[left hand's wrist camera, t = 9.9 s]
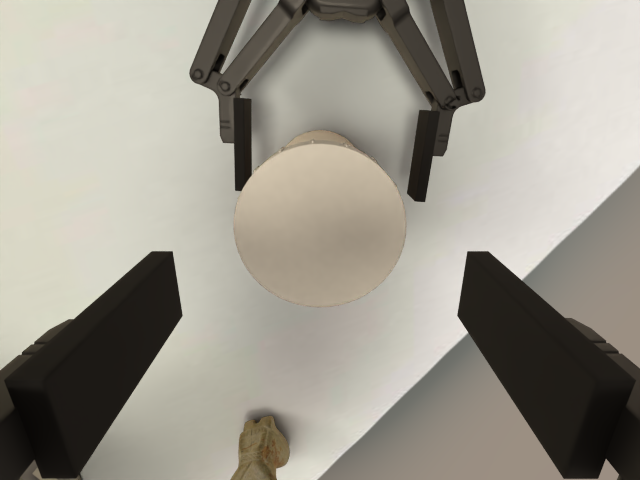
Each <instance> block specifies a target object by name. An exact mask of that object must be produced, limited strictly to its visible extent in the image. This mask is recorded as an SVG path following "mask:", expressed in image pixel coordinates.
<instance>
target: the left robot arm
mask: <svg viewBox="0 0 640 480" xmlns="http://www.w3.org/2000/svg"><path fill="white" fill-rule="evenodd" d="M182 316H183V315H182V309H181V303H180V296H179V290H178V283H177V277H176V271H175V264H174V258H173V251H152V252H151V253H149V254H148V255H147V256H146V257H145V258H144V259H143V260H141V261H140V262H139V263H138V264H137V265H136V266H134V267H133V268H132V269H131V270H130V271H129V272H128V273H126V274H125V275H124V276H123V277H122V278H121V279H120V280H118V281H117V282H116V283H115V284H114V285H113V286H111V287H110V288H109V289H108V290H107V291H106V292H105V293H103V294H102V295H101V296H100V297H99V298H98V299H97V300H95V301H94V302H93V303H92V304H91V305H90V306H88V307H87V308H86V309H85V310H84V311H83V312H82V313H80V314H79V315H78V316H77V317H76V318H75V319H69V320H67V321H65V322H63V323H61V324H59V325H57V326H55V327H54V328H52V329H50V330H48V331H47V332H46V333H45V334H44V335H42V336H41V337H40V338H39V339H38V340H36V341H35V342H34V345H30V346H29V347H28V348H27V349H25V350H24V351H23V352H22V355H18V356H17V357H16V358H15V359H13V360H12V361H11V362H10V363H9V364H7V365H6V366H5V367H4V368H3V369H1V370H0V480H81V478H80V476H79V474H80V472H81V471H82V469H83V467H84V466H85V464H86V463H87V461H88V460H89V458H90V457H91V455H92V454H93V452H94V451H95V449H96V448H97V446H98V444H99V443H100V441H101V440H102V438H103V437H104V435H105V434H106V432H107V431H108V429H109V428H110V426H111V425H112V423H113V421H114V420H115V418H116V417H117V415H118V414H119V412H120V411H121V409H122V408H123V406H124V405H125V403H126V402H127V400H128V399H129V397H130V395H131V394H132V392H133V391H134V389H135V388H136V386H137V385H138V383H139V382H140V380H141V379H142V377H143V376H144V374H145V372H146V371H147V369H148V368H149V366H150V365H151V363H152V362H153V360H154V359H155V357H156V356H157V354H158V353H159V351H160V349H161V348H162V346H163V345H164V343H165V342H166V340H167V339H168V337H169V336H170V334H171V333H172V331H173V330H174V328H175V327H176V325H177V323H178V322H179V320H180V319H181V317H182ZM457 316H458V317H459V319H460V320H461V322H462V323H463V325H464V327H465V328H466V330H467V331H468V333H469V334H470V336H471V337H472V339H473V340H474V342H475V343H476V345H477V346H478V348H479V349H480V351H481V353H482V354H483V356H484V357H485V359H486V360H487V362H488V363H489V365H490V366H491V368H492V369H493V371H494V372H495V374H496V376H497V377H498V379H499V380H500V382H501V383H502V385H503V386H504V388H505V389H506V391H507V392H508V394H509V395H510V397H511V399H512V400H513V402H514V403H515V405H516V406H517V408H518V409H519V411H520V412H521V414H522V415H523V417H524V418H525V420H526V421H527V423H528V425H529V426H530V428H531V429H532V431H533V432H534V434H535V435H536V437H537V438H538V440H539V441H540V443H541V444H542V446H543V448H544V449H545V451H546V452H547V454H548V455H549V457H550V458H551V460H552V461H553V463H554V464H555V466H556V467H557V469H558V471H559V472H560V474H561V475H562V477H563V478H564V479H598V477H599V475H600V472H601V470H602V467H603V464H604V462H605V459H607V460H608V461H609V462H610V464H611V465H612V466H613V467H614V469H615V470H616V471H617V472H618V474H619V476H618V479H617V480H640V368H638V367H637V366H636V365H635V364H633V363H632V362H631V361H630V360H629V359H628V358H626V357H625V356H624V355H623V354H619V352H618V350H617V349H615V348H614V347H613V346H612V345H611V344H609V343H606V340H604V339H603V338H602V337H601V336H600V335H598V334H597V333H596V332H595V331H594V330H592V329H591V328H589V327H587V326H585V325H583V324H582V323H580V322H578V321H576V320H574V319H572V318H564V317H563V316H562V315H561V314H560V313H558V312H557V311H556V310H555V309H554V308H553V307H551V306H550V305H549V304H548V303H547V302H546V301H544V300H543V299H542V298H541V297H540V296H539V295H538V294H537V293H535V292H534V291H533V290H532V289H531V288H530V287H529V286H527V285H526V284H525V283H524V282H523V281H522V280H520V279H519V278H518V277H517V276H516V275H515V274H514V273H512V272H511V271H510V270H509V269H508V268H507V267H506V266H504V265H503V264H502V263H501V262H500V261H499V260H497V259H496V258H495V257H494V256H493V255H492V254H491V253H489V252H488V251H467V258H466V264H465V271H464V277H463V283H462V290H461V296H460V303H459V309H458V315H457Z"/></svg>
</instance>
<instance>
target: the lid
mask: <svg viewBox="0 0 640 480" xmlns="http://www.w3.org/2000/svg"><path fill="white" fill-rule="evenodd" d="M376 162H377V161H376V160H375V159H374V158H373V157H371V158H370V157H369V156H368V155H366V154H365V153H364V152H362V151H360V150H358V149H356V148H355V147H352V146H349V145H347V144H346V142H344V143H340V142H336V141H329V140H314V139H312V140H310V141H305V142H300V143H296V144H293V145H290V146H288V147H286V148H284V147H282V148H281V149H280V150H279V151H278V152H277V153H275V154H274V155H272V156H271V157H270V158H268V159H267V160H266V161H265V162H264V163H263V164H262V165H261V166H258V167H257V168H256V169H255V170H254V171H253V172H254V173H253V175H252V176H251V177H250V178H249V180H248V181H247V183H246V184H245V186H244V187H243V189H242V192H241V194H240V196H239V197H238V202H237V205H236V208H235V215H234V235H235V242H236V245H237V249H238V252H239V254H240V257H241V259H242V261H243V263H244V265H245V266H246V268H247V270H248V271H249V272H250V274H251V275H252V276H253V277H254V279H255V280H256V281H257V282H258V283H259V284H260V285H262V286H263V287H264V288H265V289H267V290H268V291H269V292H271V293H273V294H274V295H276V296H277V297H279V298H282V299H284V300H286V301H289V302H292V303H295V304H298V305H303V306H310V307H330V306H337V305H341V304H345V303H349V302H351V301H354V300H356V299H359V298H360V297H362V296H364V295H366V294H368V293H369V292H371V291H372V290H373V289H375V288H376V287H377V286H378V285H379V284H380V283H382V282H383V281H384V280H385V278H386V277H387V276H388V275H389V274H390V272H391V271H392V269H393V268H394V266H395V265H396V263H397V261H398V259H399V257H400V255H401V252H402V249H403V246H404V241H405V236H406V214H405V209H404V205H403V201H402V199H401V196H400V194H399V191H398V190H397V188H396V187H397V185H396V184H395V183H394V182H393V181H392V180H391V178H390V177H389V176H388V174H387V173H386V172H385V171H384V170H383V169H382V168H381V167H380V166H379V165H378V164H377V163H376Z"/></svg>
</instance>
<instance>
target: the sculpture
mask: <svg viewBox="0 0 640 480" xmlns="http://www.w3.org/2000/svg"><path fill="white" fill-rule="evenodd" d="M238 454H239V466H238V469H237V470H236V472H235V473H234V475H233V476H232V478H231V480H277V479H276V468H280V467H282V466H284V465H285V464H286V463H287V462H288V459H289V454H290V452H289V446H288V443H287V441H286V439H285V437H284V436H283V435H282V433H280V432H279V431H278V429H277V428H276V426H275V423H274V418H273V417H272V416H267V417H263V418H261V420H260V421H259V423H257V421H256V420H250V421H247V422H246V423H245V425H244V432H242V433H241V435H240V438H239V452H238Z"/></svg>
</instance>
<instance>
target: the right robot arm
mask: <svg viewBox="0 0 640 480" xmlns="http://www.w3.org/2000/svg"><path fill="white" fill-rule="evenodd" d="M250 3H251V0H218V2H217V5H216V7H215V10H214V12H213V15H212V17H211V20H210V22H209V24H208V27H207V29H206V32H205V34H204V37H203V39H202V42H201V44H200V46H199V49H198V51H197V54H196V56H195V59H194V61H193V64H192V66H191V69H190V73H189V74H190V78H191V79H192V81H193V82H195V83H197V84H200V85H202V86H204V87H207V88H209V89H211V90H213V91H214V92H215V93H216V94H217V96H218V99H219V119H220V136H221V139H222V141H223V143H234V155H235V191H242V189H243V187H244V186H245V184H246V183H247V181H248V180H249V178H250V177H251V176H252V150H251V99H245V98H240V95H241V92H242V90H243V89H244V88H245V87H246V86H247V84H248V83H249V82H250V81H251V79H252V78H253V77H254V76H255V74H256V73H257V72H258V71H259V70H260V68H261V67H262V66H263V65H264V63H265V62H266V61H267V60H268V59H269V57H270V56H271V55H272V54H273V52H274V51H275V50H276V49H277V47H278V46H279V45H280V44H281V43H282V41H283V40H284V39H285V38H286V36H287V35H288V34H289V33H290V32H291V30H292V29H293V28H294V27H295V26H296V25H297V24H298V23H299V22H300V21H301V20H302V19H303V18H304V16H305V15H306V14H307V13H308V11H309V10H310V12H311V13H313V14H314V15H315V16H317V17H319V18H320V20H328V21H331V20H336V19H340V18H344V19H346V20H349V21H351V22H357V23H364V22H365V21H367V20H369V19H371V18H373V17H374V16H376V18H377V20H378V21H379V23H380V25H381V26H382V28H383V29H384V30H385V31H386V32H387V33H388V35H389V36H390V38H391V40H392V41H393V43H394V45H395V46H396V48H397V50H398V51H399V53H400V55H401V56H402V58H403V60H404V61H405V63H406V65H407V66H408V68H409V70H410V71H411V73H412V75H413V76H414V78H415V80H416V81H417V83H418V85H419V86H420V88H421V90H422V91H423V93H424V95H425V96H426V98H427V100H428V101H429V103H430V105H431V107H432V108H431V111H429V110H419V117H418V123H417V130H416V137H415V143H414V150H413V157H412V163H411V170H410V177H409V184H408V190H407V194H408V195H409V196H410V197H411V198H412V199H413V200H414V201H417V202H425V199H426V193H427V187H428V181H429V175H430V169H431V163H432V157H433V156H443V155H444V153H445V152H446V150H447V145H448V139H449V133H450V128H451V122H452V117H453V114H454V112H455V110H456V109H458V108H459V107H461V106H463V105H467V104H470V103H473V102H479V101H480V100H482V99H483V97H484V96H485V86H484V82H483V78H482V74H481V70H480V66H479V61H478V57H477V53H476V49H475V45H474V41H473V37H472V33H471V28H470V24H469V20H468V16H467V12H466V8H465V4H464V0H430V3H431V7H432V11H433V15H434V19H435V22H436V26H437V30H438V33H439V37H440V41H441V44H442V48H443V52H444V55H445V59H446V63H447V67H448V70H449V74H450V78H451V81H452V85H453V88H452V86H451V85H450V83H449V81H448V79H447V78H446V76H445V74H444V72H443V71H442V69H441V67H440V65H439V64H438V62H437V60H436V58H435V57H434V55H433V53H432V51H431V49H430V48H429V46H428V44H427V42H426V41H425V39H424V37H423V35H422V34H421V32H420V30H419V28H418V27H417V25H416V23H415V21H414V20H413V18H412V16H411V14H410V11H409V6H408V4H407V2H406V0H280V1H279V3H278V5H277V6H276V7H275V8H274V10H273V11H272V12H271V14H270V15H269V16H268V17H267V19H266V20H265V21H264V22H263V24H262V25H261V26H260V28H259V29H258V30H257V31H256V33H255V34H254V35H253V36H252V38H251V39H250V40H249V42H248V43H247V44H246V45H245V47H244V48H243V49H242V50H241V52H240V53H239V54H238V56H237V57H236V58H235V59H234V61H233V62H232V63H231V64H230V66H229V67H228V68H227V70H226V71H225V72H224V73H223V74H221V73H220V71H221V69H222V67H223V64H224V62H225V60H226V58H227V55H228V53H229V51H230V48H231V46H232V44H233V42H234V39H235V37H236V35H237V32H238V30H239V28H240V25H241V23H242V21H243V19H244V16H245V14H246V12H247V9H248V7H249V5H250Z"/></svg>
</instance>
